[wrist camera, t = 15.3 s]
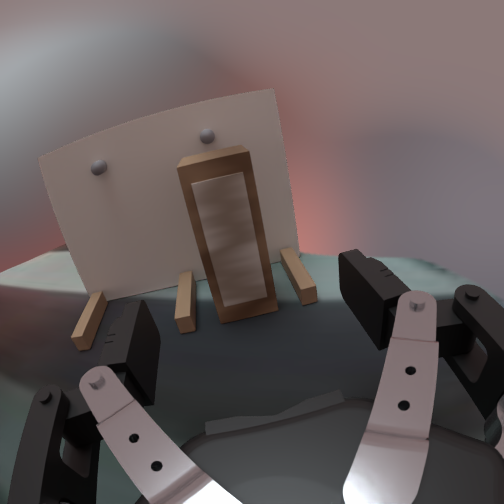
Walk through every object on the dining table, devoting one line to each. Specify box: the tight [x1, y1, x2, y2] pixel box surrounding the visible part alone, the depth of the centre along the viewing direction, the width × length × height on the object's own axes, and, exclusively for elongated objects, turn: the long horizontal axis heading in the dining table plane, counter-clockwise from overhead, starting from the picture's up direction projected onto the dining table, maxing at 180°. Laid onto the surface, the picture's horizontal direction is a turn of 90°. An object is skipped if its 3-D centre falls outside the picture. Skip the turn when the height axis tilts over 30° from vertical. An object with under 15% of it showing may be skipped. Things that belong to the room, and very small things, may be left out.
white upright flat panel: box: [38, 89, 317, 351], centre depth 23 cm, size 22×9×16 cm, turn 98°
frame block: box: [177, 145, 278, 324], centre depth 22 cm, size 4×5×12 cm
